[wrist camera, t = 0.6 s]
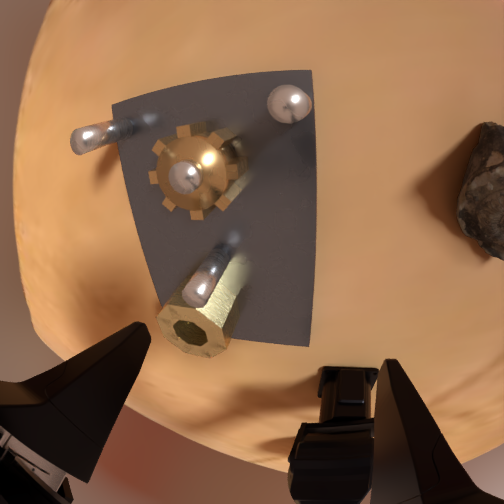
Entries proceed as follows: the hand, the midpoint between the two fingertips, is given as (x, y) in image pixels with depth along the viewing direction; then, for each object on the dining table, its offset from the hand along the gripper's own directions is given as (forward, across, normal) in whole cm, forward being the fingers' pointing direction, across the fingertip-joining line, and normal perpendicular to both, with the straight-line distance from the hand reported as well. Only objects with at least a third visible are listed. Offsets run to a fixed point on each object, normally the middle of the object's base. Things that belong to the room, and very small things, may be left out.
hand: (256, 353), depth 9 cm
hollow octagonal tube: (+12, +8, +9) cm, 16 cm away
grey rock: (+13, -16, -4) cm, 21 cm away
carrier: (+12, +6, +2) cm, 14 cm away
